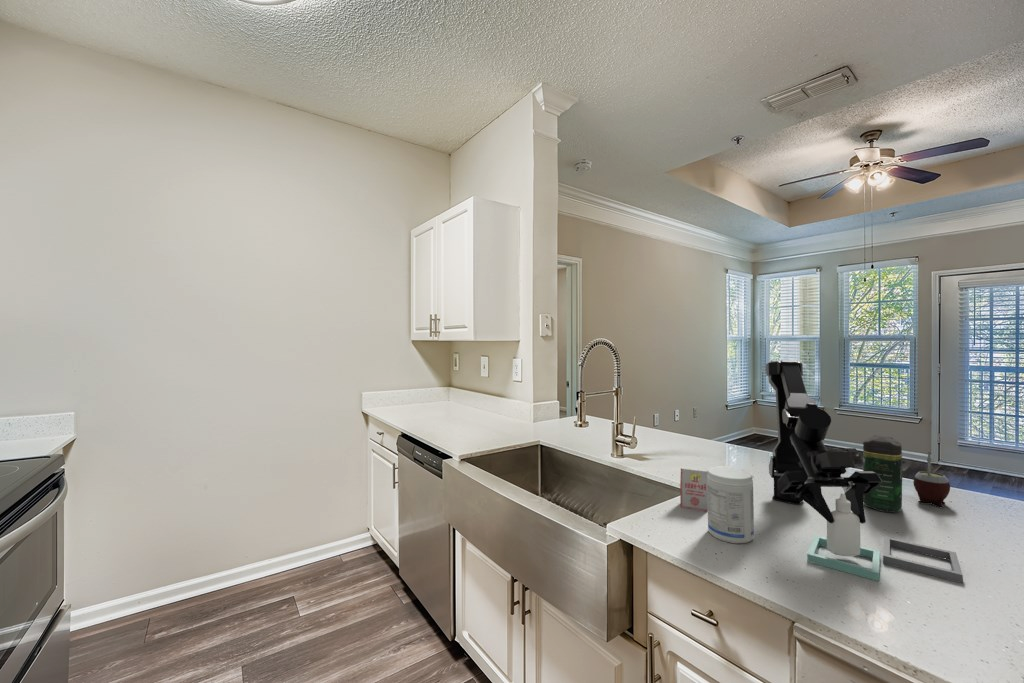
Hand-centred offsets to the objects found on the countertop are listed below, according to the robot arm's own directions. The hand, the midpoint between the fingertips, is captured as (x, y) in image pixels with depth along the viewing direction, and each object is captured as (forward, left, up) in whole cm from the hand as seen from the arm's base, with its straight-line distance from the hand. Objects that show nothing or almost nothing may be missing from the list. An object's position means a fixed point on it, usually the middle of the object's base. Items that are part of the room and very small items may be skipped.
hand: (847, 522), depth 86 cm
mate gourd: (+15, +53, -8) cm, 56 cm away
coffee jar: (+5, +42, -8) cm, 43 cm away
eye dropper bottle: (-1, +1, -7) cm, 7 cm away
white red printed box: (-33, +10, -8) cm, 36 cm away
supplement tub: (-21, -2, -8) cm, 23 cm away
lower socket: (-1, +1, -8) cm, 8 cm away
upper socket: (+11, +10, -8) cm, 17 cm away
